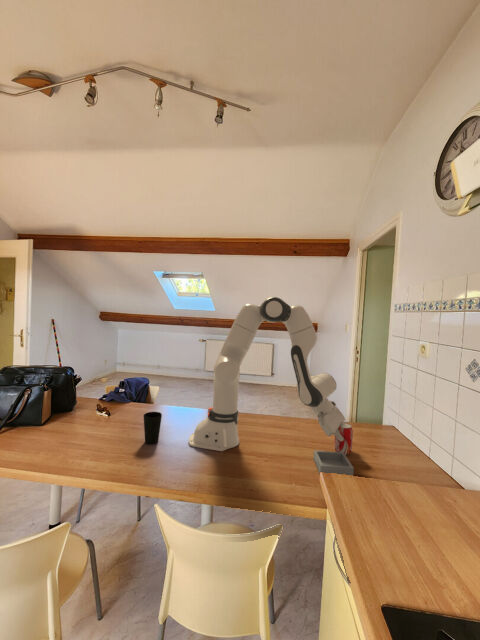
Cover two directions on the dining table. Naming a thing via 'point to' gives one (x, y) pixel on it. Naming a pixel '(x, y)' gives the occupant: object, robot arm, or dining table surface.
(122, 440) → the dining table surface
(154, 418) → the cup
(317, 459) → the tray
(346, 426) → the soda can
